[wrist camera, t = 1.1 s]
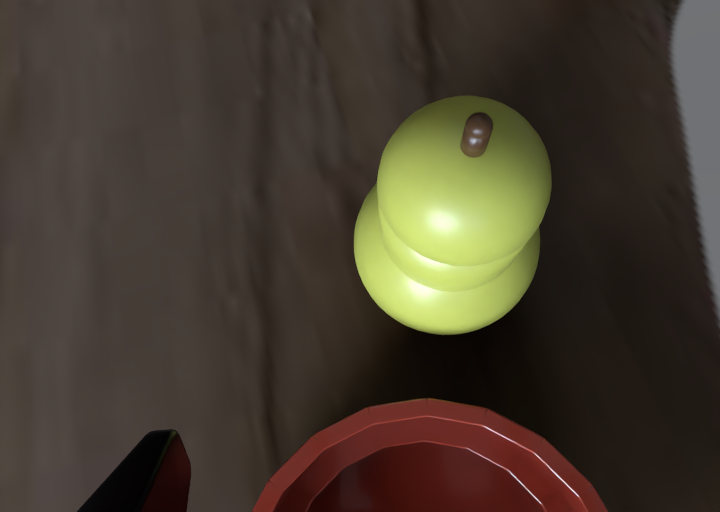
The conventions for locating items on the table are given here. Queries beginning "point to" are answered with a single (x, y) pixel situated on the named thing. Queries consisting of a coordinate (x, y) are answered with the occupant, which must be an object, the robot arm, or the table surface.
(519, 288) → the pear
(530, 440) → the bowl
